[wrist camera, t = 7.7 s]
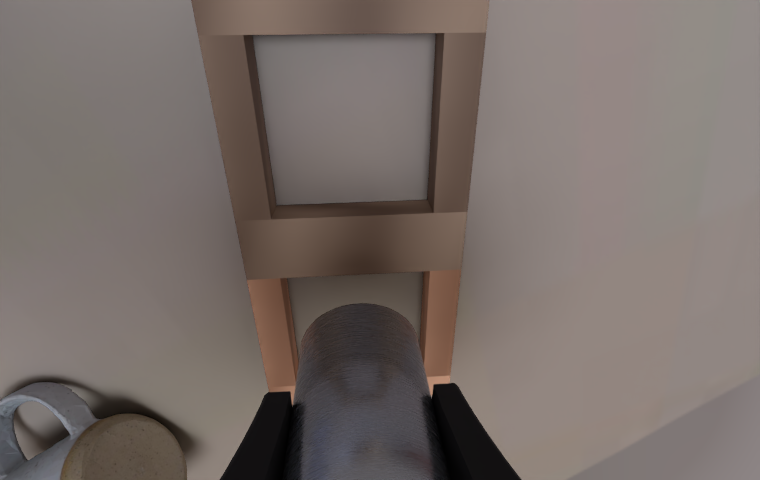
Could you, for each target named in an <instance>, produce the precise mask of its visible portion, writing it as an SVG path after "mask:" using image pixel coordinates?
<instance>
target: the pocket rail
mask: <svg viewBox="0 0 760 480" xmlns="http://www.w3.org/2000/svg"><path fill="white" fill-rule="evenodd" d="M191 1H192V6H193V11H194V17H195V22H196V27H197V32H198V37H199V42H200V47H201V52H202V57H203V62H204V67H205V72H206V77H207V82H208V87H209V92H210V97H211V102H212V107H213V112H214V117H215V122H216V127H217V132H218V137H219V142H220V147H221V152H222V157H223V162H224V167H225V172H226V177H227V182H228V187H229V192H230V197H231V202H232V207H233V213H234V218H235V223H236V228H237V233H238V238H239V243H240V248H241V253H242V258H243V263H244V268H245V273H246V278H247V283H248V288H249V293H250V298H251V303H252V308H253V313H254V318H255V323H256V328H257V333H258V338H259V343H260V348H261V353H262V358H263V363H264V368H265V373H266V378H267V383H268V388H269V392H283V391H290V392H291V400H292V405H293V400H294V393H295V386H296V379H297V371H298V364H299V361H298V354H297V347H296V340H295V333H294V326H293V319H292V312H291V305H290V298H289V291H288V284H287V278H298V277H318V276H339V275H359V274H380V273H400V272H421V271H424V274H423V293H422V312H421V331H420V350H421V355H422V359H423V363H424V368H425V372H426V376H427V381H428V385H429V389H430V394H431V395H432V394H433V385H434V384H447V383H449V382H450V372H451V363H452V353H453V343H454V334H455V324H456V315H457V305H458V296H459V286H460V277H461V267H462V258H463V248H464V238H465V229H466V219H467V210H468V200H469V191H470V181H471V172H472V162H473V153H474V143H475V134H476V124H477V114H478V105H479V95H480V86H481V76H482V67H483V57H484V48H485V38H486V29H487V19H488V9H489V0H191ZM388 33H436V44H435V63H434V82H433V101H432V120H431V140H430V159H429V178H428V197H427V200H413V201H386V202H359V203H333V204H306V205H279V206H276V199H275V192H274V185H273V178H272V171H271V164H270V157H269V150H268V143H267V136H266V129H265V122H264V115H263V108H262V101H261V93H260V86H259V79H258V72H257V65H256V58H255V51H254V44H253V37H252V35H291V34H388Z"/></svg>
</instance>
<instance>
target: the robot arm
mask: <svg viewBox="0 0 760 480" xmlns="http://www.w3.org/2000/svg"><path fill="white" fill-rule="evenodd" d="M432 402H433V407H434V411H435V415H436V420H437V424H438V428H439V433H440V437H441V441H442V446H443V450H444V455H445V459H446V463H447V468H448V472H449V476H450V480H521V479H520V477H519V476H518V475H517V473H516V472H515V471H514V470H513V468H512V467H511V466H510V464H509V463H508V462H507V460H506V459H505V458H504V456H503V455H502V453H501V452H500V451H499V449H498V448H497V446H496V445H495V444H494V442H493V441H492V439H491V438H490V437H489V435H488V434H487V432H486V431H485V429H484V428H483V426H482V425H481V423H480V422H479V420H478V419H477V417H476V415H475V414H474V412H473V411H472V409H471V408H470V406H469V404H468V403H467V401H466V399H465V398H464V396H463V394H462V393H461V391H460V389H459V387H458V386H457V385H456V384H455V383H447V384H434V385H433V394H432ZM291 415H292V400H291V392H290V391H283V392H268V393H267V394H266V395H265V396H264V398H263V400H262V403H261V405H260V407H259V409H258V411H257V413H256V416H255V418H254V420H253V422H252V424H251V426H250V427H249V429H248V431H247V433H246V435H245V437H244V439H243V441H242V443H241V444H240V446H239V448H238V450H237V451H236V453H235V455H234V457H233V458H232V460H231V462H230V464H229V465H228V467H227V469H226V470H225V472H224V474H223V475H222V477H221V479H220V480H282V479H283V472H284V465H285V458H286V450H287V443H288V436H289V429H290V422H291Z"/></svg>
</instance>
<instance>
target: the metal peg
mask: <svg viewBox="0 0 760 480" xmlns="http://www.w3.org/2000/svg"><path fill="white" fill-rule="evenodd" d="M282 480H450V476H449V472H448V468H447V463H446V459H445V455H444V450H443V446H442V441H441V437H440V433H439V428H438V424H437V420H436V415H435V411H434V407H433V402H432V398H431V394H430V389H429V385H428V381H427V376H426V372H425V368H424V363H423V359H422V355H421V350H420V346H419V342H418V337H417V334H416V332H415V330H414V328H413V326H412V325H411V324H410V323H409V321H408V320H407V319H406V318H404V317H403V316H402V315H400V314H399V313H398V312H396V311H394V310H392V309H389V308H387V307H384V306H380V305H375V304H362V303H359V304H350V305H345V306H341V307H338V308H335V309H333V310H330V311H328V312H326V313H325V314H323V315H321V316H320V317H319V318H317V319H316V320H315V321H314V322H313V323H312V324H311V325H310V327H309V328H308V329H307V331H306V333H305V334H304V337H303V339H302V343H301V350H300V357H299V364H298V371H297V379H296V386H295V393H294V400H293V407H292V415H291V422H290V429H289V436H288V443H287V450H286V458H285V465H284V472H283V479H282Z"/></svg>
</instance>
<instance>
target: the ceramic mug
mask: <svg viewBox="0 0 760 480" xmlns="http://www.w3.org/2000/svg"><path fill="white" fill-rule="evenodd" d="M26 401H36V402H39V403H41V404H43V405H44V406H46V407H47V408H48V409H50V410H51V411H52V412H53V413H54V415H55V416H57V417H58V418H59V419H60V420H61V422H62V423H63V425H64V427H65V428H66V429H67V430H68V431H69V433H70V435H69V436H67V437H66V438H65V439H63V440H61V441H59V442H57V443H56V444H54V446H53V447H51V448H49V449H47V450H46V451H44V452H42V453H40V454H38V455H37V456H35V457H34V458H32V459H30V460H27V459H26V457H25V456H24V454H23V452H22V450H21V448H20V446H19V444H18V441H17V438H16V434H15V430H14V422H13V420H14V411H15V409H16V408H17V406H19V405H21V404H22V403H24V402H26ZM0 480H187V467H186V461H185V457H184V454H183V452H182V450H181V447H180V445H179V443H178V441H177V440H176V438H175V436H174V435H173V434H172V433H171V432H170V431H169V430H168V429H167V428H166V427H165V426H163V425H162V424H161V423H159V422H158V421H156V420H154V419H152V418H149V417H146V416H143V415H140V414H130V413H127V414H117V415H113V416H111V417H108V418H104V419H96V418H95V416H94V415H93V413H92V410H91V409H90V407H89V406H88V405H87V403H86V402H85V401H84V400H83V399H82V398H80V397H79V396H78V395H77V394H76V393H74V392H72V390H71V389H69V388H67V387H65V386H63V385H60V384H57V383H53V382H38V383H33V384H30V385H28V386H26V387H24V388H22V389H20V390H18V391H16V392H14V393H12V394H10V395H8V396H6V397H4V398H3V399H1V400H0Z"/></svg>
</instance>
